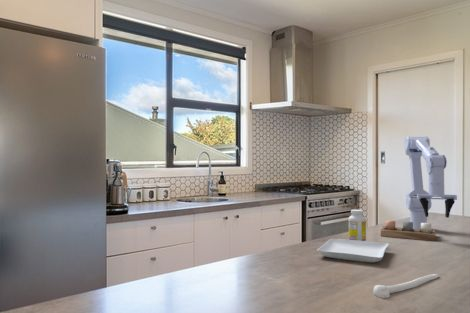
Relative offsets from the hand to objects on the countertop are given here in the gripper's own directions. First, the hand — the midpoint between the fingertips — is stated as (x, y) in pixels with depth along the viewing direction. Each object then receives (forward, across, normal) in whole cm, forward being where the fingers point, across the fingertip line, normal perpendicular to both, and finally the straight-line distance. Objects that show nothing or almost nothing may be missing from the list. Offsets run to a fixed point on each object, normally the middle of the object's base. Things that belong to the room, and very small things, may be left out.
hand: (436, 216), depth 156 cm
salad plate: (+11, -34, -33) cm, 49 cm away
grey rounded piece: (+7, -10, +5) cm, 13 cm away
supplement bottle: (+10, -32, -12) cm, 36 cm away
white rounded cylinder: (+7, -3, +4) cm, 8 cm away
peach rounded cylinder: (+7, -17, +6) cm, 19 cm away
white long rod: (+12, -22, -62) cm, 67 cm away
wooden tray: (+9, -10, +5) cm, 15 cm away
